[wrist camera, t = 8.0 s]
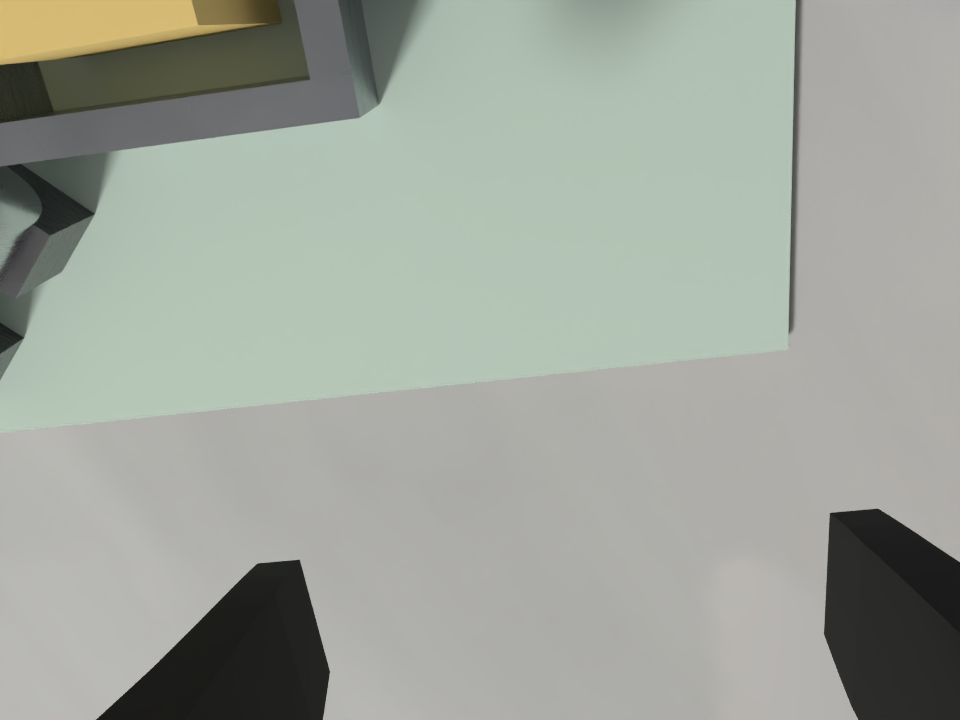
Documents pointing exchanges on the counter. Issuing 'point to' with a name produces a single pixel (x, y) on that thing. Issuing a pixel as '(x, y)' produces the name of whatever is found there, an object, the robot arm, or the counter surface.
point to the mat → (424, 212)
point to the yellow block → (118, 24)
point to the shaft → (33, 238)
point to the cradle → (199, 99)
